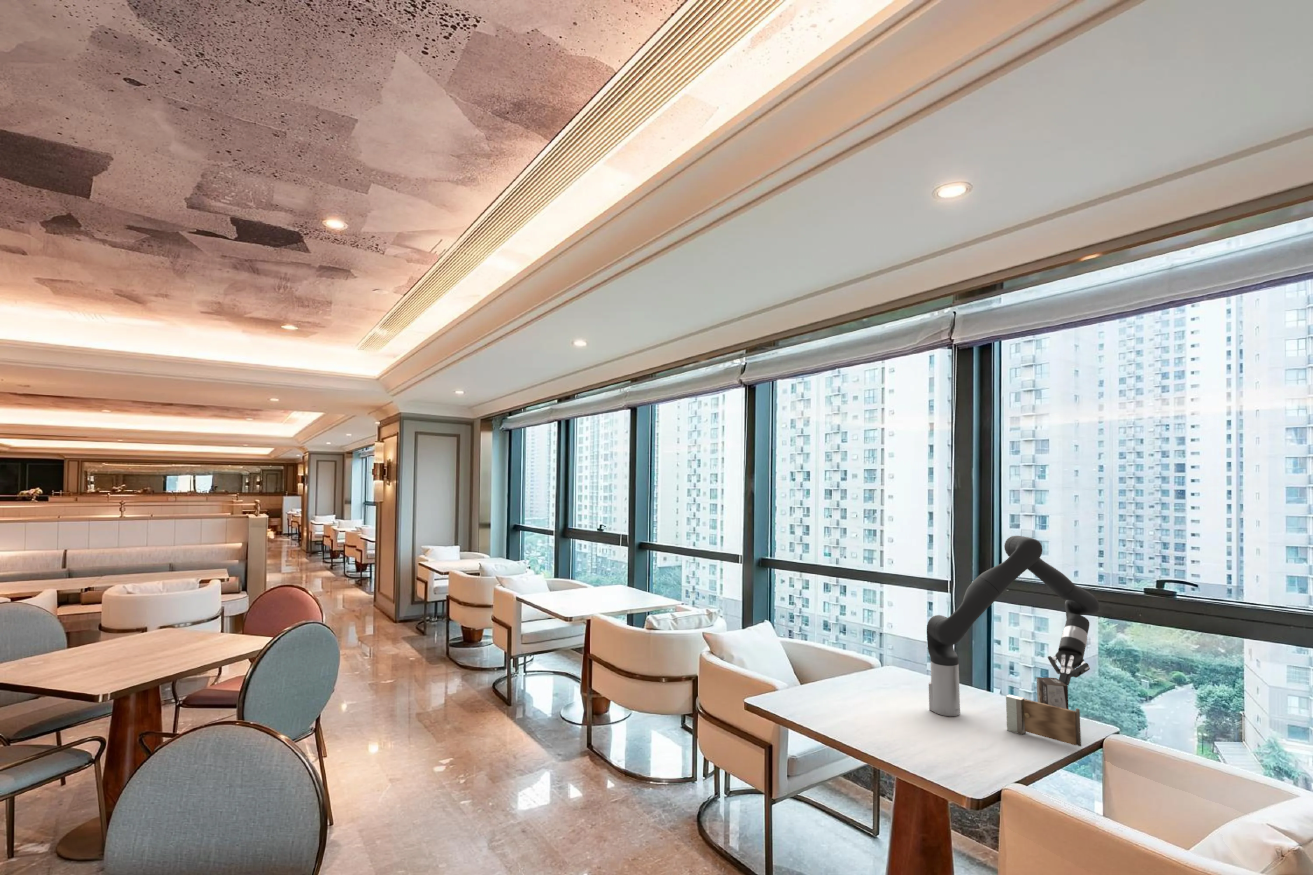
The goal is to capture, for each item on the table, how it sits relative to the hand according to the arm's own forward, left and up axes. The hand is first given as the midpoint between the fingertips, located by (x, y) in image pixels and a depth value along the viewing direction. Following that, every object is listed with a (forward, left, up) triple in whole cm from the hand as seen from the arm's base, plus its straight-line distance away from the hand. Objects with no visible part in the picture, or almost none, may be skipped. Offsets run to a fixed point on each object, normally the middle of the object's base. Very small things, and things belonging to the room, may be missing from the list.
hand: (1063, 684), depth 216 cm
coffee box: (0, -11, -13) cm, 17 cm away
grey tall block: (-8, -21, -13) cm, 26 cm away
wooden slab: (+3, -22, -12) cm, 25 cm away
